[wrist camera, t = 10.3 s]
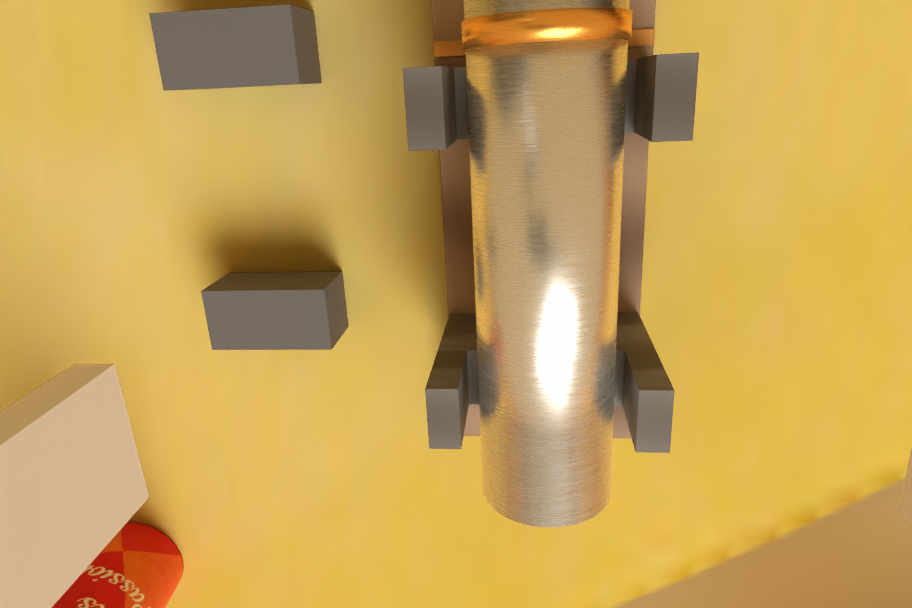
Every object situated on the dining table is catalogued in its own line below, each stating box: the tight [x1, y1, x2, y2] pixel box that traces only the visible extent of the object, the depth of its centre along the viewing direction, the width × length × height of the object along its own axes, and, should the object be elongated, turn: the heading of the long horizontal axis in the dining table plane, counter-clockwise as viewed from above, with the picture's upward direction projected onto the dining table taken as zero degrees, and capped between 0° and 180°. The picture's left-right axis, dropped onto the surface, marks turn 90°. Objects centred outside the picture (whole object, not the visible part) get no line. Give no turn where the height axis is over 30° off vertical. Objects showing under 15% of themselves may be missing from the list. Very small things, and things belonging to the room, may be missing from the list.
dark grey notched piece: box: [403, 0, 699, 453], centre depth 26 cm, size 22×9×10 cm, turn 3°
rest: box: [149, 4, 348, 350], centre depth 30 cm, size 15×6×3 cm, turn 3°
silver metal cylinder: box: [461, 0, 633, 527], centre depth 22 cm, size 18×5×5 cm, turn 3°
